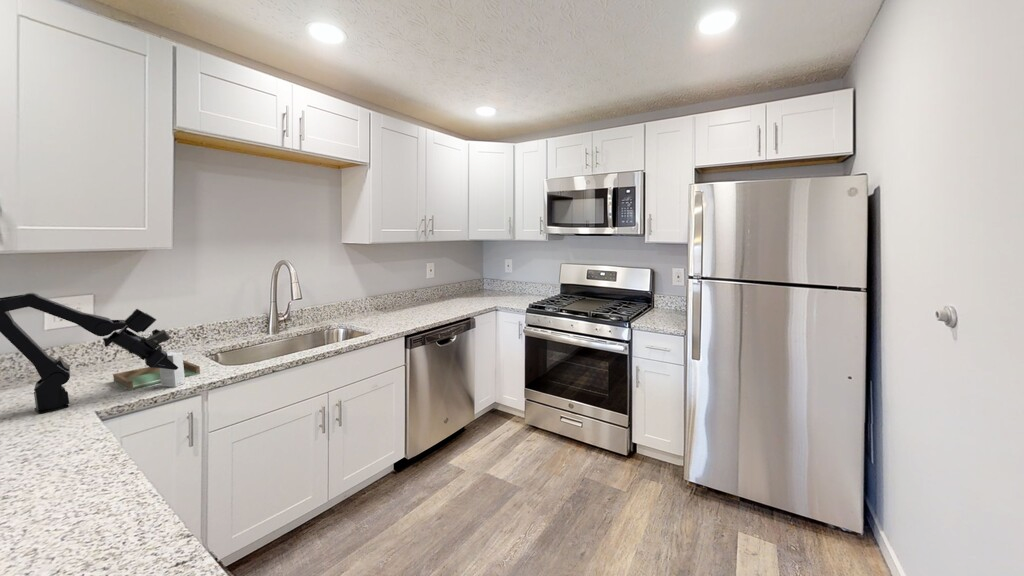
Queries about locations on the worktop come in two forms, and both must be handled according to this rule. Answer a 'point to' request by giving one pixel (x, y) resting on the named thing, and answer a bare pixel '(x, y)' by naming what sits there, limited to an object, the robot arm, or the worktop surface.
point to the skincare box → (173, 371)
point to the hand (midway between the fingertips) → (175, 365)
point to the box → (148, 376)
